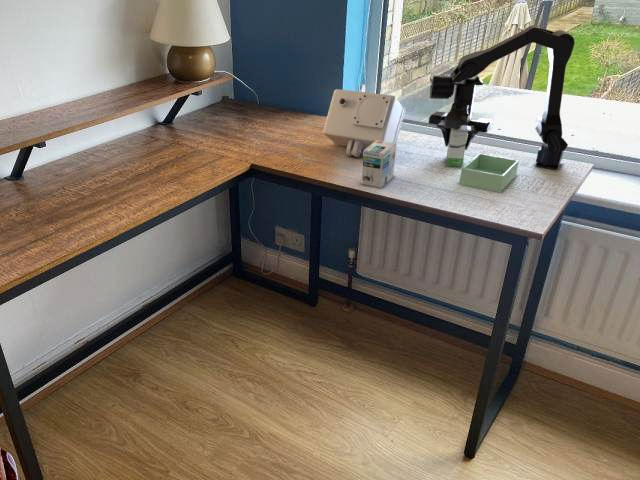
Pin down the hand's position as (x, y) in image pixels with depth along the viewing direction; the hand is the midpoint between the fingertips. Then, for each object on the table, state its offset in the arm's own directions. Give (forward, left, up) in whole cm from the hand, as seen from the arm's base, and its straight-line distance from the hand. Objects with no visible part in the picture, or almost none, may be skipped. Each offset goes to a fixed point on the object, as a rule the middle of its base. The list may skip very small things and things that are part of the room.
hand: (456, 148), depth 192 cm
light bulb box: (+14, +27, -5) cm, 31 cm away
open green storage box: (-14, +9, -5) cm, 17 cm away
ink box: (0, 0, -5) cm, 5 cm away
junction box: (+31, +5, -5) cm, 32 cm away
